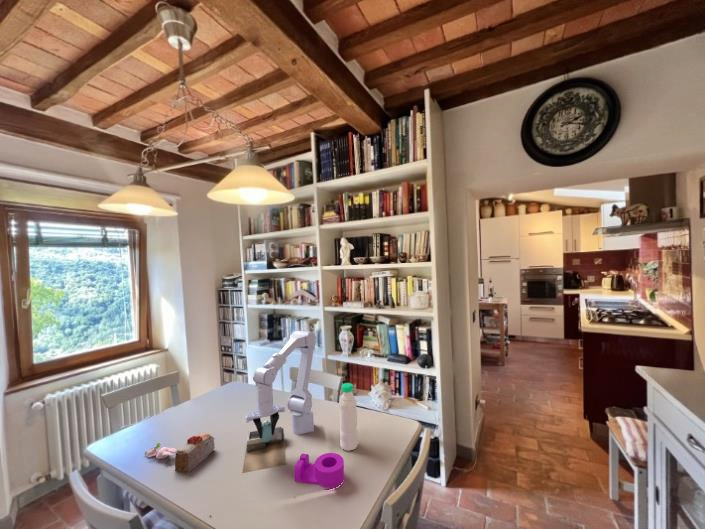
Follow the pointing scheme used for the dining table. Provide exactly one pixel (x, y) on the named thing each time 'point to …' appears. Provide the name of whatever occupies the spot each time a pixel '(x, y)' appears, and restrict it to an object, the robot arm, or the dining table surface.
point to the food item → (194, 452)
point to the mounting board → (265, 457)
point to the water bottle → (348, 418)
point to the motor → (256, 443)
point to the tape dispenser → (320, 470)
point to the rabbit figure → (160, 452)
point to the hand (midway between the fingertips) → (266, 435)
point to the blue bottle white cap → (266, 431)
